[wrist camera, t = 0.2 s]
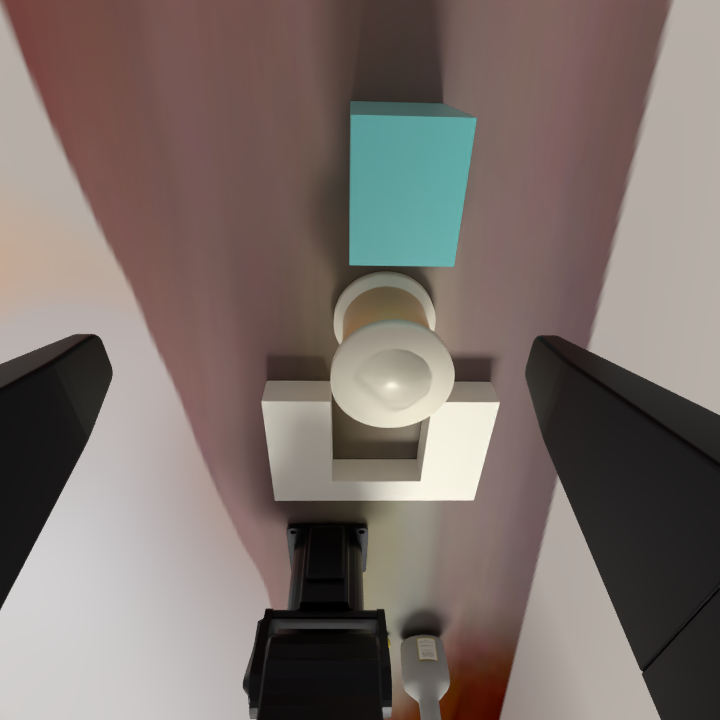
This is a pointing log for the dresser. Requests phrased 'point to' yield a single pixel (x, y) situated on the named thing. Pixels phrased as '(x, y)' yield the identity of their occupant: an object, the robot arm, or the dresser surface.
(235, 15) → the dresser surface
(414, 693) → the reed diffuser
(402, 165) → the teal rectangular block
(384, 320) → the bobbin
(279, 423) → the notched board
